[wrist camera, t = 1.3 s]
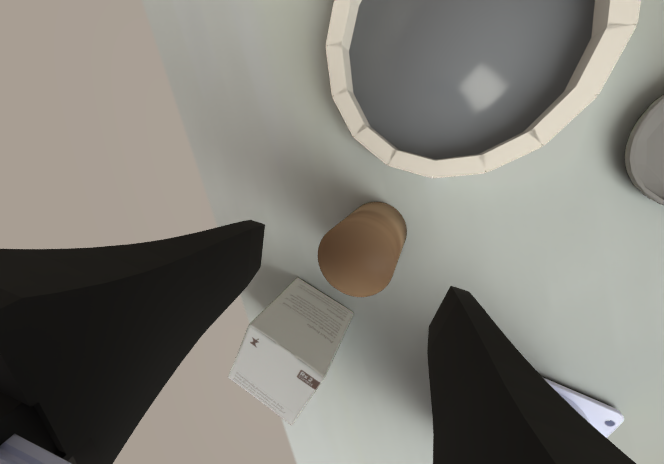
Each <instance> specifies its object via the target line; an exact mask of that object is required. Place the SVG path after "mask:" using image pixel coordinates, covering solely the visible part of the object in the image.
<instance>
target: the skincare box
mask: <svg viewBox="0 0 664 464" xmlns="http://www.w3.org/2000/svg"><path fill="white" fill-rule="evenodd" d="M353 314H354V313H353V312H352V311H350V310H349V309H347V308H346V307H344V306H342V305H341V304H339V303H338V302H336V301H334V300H333V299H331V298H330V297H328V296H326V295H325V294H323V293H322V292H320V291H319V290H317V289H315V288H314V287H312V286H311V285H309V284H307V283H306V282H304V281H303V280H301V279H300V278H296V279H295V280H294V281H293V282H292V283H291V284H290V285H289V286H288V287H287V288H286V289H285V290H284V291H283V292H282V293H281V294H280V295H279V296H278V297H277V298H276V299H275V300H274V301H273V302H272V303H271V304H270V305H269V306H268V307H267V308H266V309H265V310H264V311H262V312H261V313H260V314H259V315H258V316H257V317H256V318H255V319H254V320H253V321H252V322H251V323H250V324H249V326H248V328H247V331H246V333H245V336H244V338H243V341H242V344H241V346H240V349H239V352H238V354H237V357H236V360H235V362H234V364H233V366H232V369H231V371H230V373H229V376H228V378H229V379H231V380H232V381H234V382H235V383H237V384H238V385H239V386H240V387H242V388H243V389H244V390H246V391H247V392H248V393H250V394H251V395H252V396H254V397H255V398H256V399H258V400H259V401H260V402H262V403H263V404H264V405H266V406H267V407H268V408H270V409H271V410H272V411H273V412H275V413H276V414H277V415H279V416H280V417H281V418H282V419H284V420H285V421H286V422H288V423H289V424H290V425H293V423H294V421H295V420H296V419H297V417H298V416H299V414H300V413H301V411H302V410H303V408H304V407H305V405H306V404H307V402H308V401H309V400H310V398H311V397H312V395H313V394H314V392H315V391H316V390H317V388H318V387H319V385H320V384H321V382H322V381H323V380H324V378H325V376H326V374H327V372H328V370H329V367H330V365H331V363H332V361H333V359H334V356H335V354H336V352H337V350H338V348H339V345H340V343H341V341H342V339H343V337H344V335H345V332H346V330H347V328H348V326H349V324H350V322H351V319H352V317H353Z"/></svg>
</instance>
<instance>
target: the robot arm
mask: <svg viewBox="0 0 664 464" xmlns="http://www.w3.org/2000/svg"><path fill="white" fill-rule="evenodd" d="M264 229H265V224H262V223H259V222H255V221H252V220H247V221H242V222H238V223H233V224H229V225H225V226H221V227H218V228H214V229H210V230H206V231H202V232H197V233H193V234H189V235H184V236H179V237H174V238H169V239H164V240H158V241H151V242H144V243H137V244H129V245H117V246H105V247H94V248H75V249H0V464H113V462H114V460H115V459H116V457H117V455H118V454H119V453H120V451H121V450H122V448H123V446H124V445H125V443H126V442H127V440H128V439H129V437H130V436H131V434H132V433H133V431H134V429H135V428H136V426H137V425H138V423H139V422H140V420H141V419H142V417H143V416H144V414H145V413H146V411H147V410H148V409H149V407H150V406H151V404H152V403H153V401H154V400H155V398H156V397H157V395H158V394H159V392H160V391H161V390H162V388H163V387H164V385H165V384H166V383H167V381H168V380H169V378H170V377H171V376H172V374H173V373H174V372H175V370H176V369H177V367H178V366H179V365H180V363H181V362H182V360H183V359H184V358H185V357H186V355H187V354H188V353H189V351H190V350H191V349H192V348H193V346H194V345H195V344H196V342H197V341H198V340H199V338H200V337H201V336H202V335H203V334H204V333H205V331H206V330H207V329H208V328H209V327H210V326H211V325H212V324H213V323H214V321H215V320H216V319H217V318H218V317H219V316H220V315H221V314H222V313H223V312H224V311H225V310H226V309H227V308H228V306H229V305H230V304H231V303H232V302H233V301H234V300H235V299H236V298H237V297H238V296H239V295H240V294H241V292H242V291H243V290H244V289H245V288H246V287H247V286H248V284H249V283H250V282H251V280H252V279H253V277H254V276H255V274H256V273H257V271H258V270H259V268H260V267H261V257H262V248H263V238H264ZM428 366H429V379H430V390H431V402H432V414H433V433H434V439H433V464H636V463H635V462H634V461H632V460H631V459H630V458H629V457H628V456H627V455H625V454H624V453H623V452H622V451H621V450H620V449H618V448H617V447H616V446H615V445H614V444H613V443H612V442H610V441H609V440H608V439H607V437H608V436H609V435H610V434H611V433H612V432H613V431H614V430H615V429H616V428H617V427H618V426H619V425H620V424H621V423H622V422H623V421H624V417H623V415H622V414H621V412H620V411H619V410H617V409H615V408H613V407H611V406H608V405H606V404H604V403H601V402H599V401H597V400H594V399H592V398H590V397H587V396H585V395H583V394H580V393H578V392H576V391H573V390H571V389H569V388H566V387H564V386H562V385H559V384H557V383H555V382H552V381H550V380H548V379H545V378H543V377H542V376H541V375H540V374H539V373H538V372H537V371H536V370H535V369H534V368H533V367H532V366H531V365H530V363H529V362H528V361H527V360H526V359H525V358H524V357H523V356H522V355H521V353H520V352H519V351H518V350H517V349H516V348H515V347H514V345H513V344H512V343H511V342H510V341H509V340H508V338H507V337H506V336H505V335H504V334H503V332H502V331H501V330H500V329H499V328H498V326H497V325H496V324H495V323H494V321H493V320H492V319H491V318H490V316H489V315H488V314H487V313H486V311H485V310H484V309H483V308H482V306H481V305H480V304H479V303H478V302H477V300H476V299H475V298H474V297H473V296H472V295H471V294H470V293H469V292H468V291H465V290H462V289H459V288H456V287H453V286H450V288H449V290H448V292H447V294H446V296H445V298H444V300H443V301H442V303H441V305H440V307H439V309H438V311H437V313H436V314H435V316H434V318H433V320H432V322H431V324H430V326H429V334H428ZM606 420H610V421H606Z"/></svg>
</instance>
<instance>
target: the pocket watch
mask: <svg viewBox="0 0 664 464" xmlns="http://www.w3.org/2000/svg"><path fill="white" fill-rule="evenodd" d="M625 164H626V170H627V173H628V175H629V177H630V179H631V181H632V183H633V184H634V186H636V187H637V188H638V189H639V190H640V191H641V192H642V193H643V194H644V195H645V196H647V197H648V198H650V199H652V200H654V201H656V202H657V203H659V204H662V205H664V95H662V96H661V97H660V98H658V99H657V100H656V101H654V102H653V103H652V104H651V105H650V107H649V108H648V109H647V110H646V111H645V112H644V113H643V115H642V116H641V117H640V118H639V119H638V121H637V123H636V124H635V126H634V128H633V130H632V131H631V133H630V136H629V139H628V142H627V145H626V151H625Z"/></svg>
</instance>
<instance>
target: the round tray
mask: <svg viewBox="0 0 664 464" xmlns="http://www.w3.org/2000/svg"><path fill="white" fill-rule="evenodd" d="M640 3H641V0H334V3H333V8H332V13H331V19H330V24H329V29H328V35H327V40H326V45H327V46H326V54H327V62H328V70H329V78H330V86H331V94H332V96H333V97H332V98H333V100H334V102H335V104H336V105H337V107H338V109H339V111H340V113H341V115H342V117H343V119H344V121H345V123H346V125H347V126H348V128H349V130H350V132H351V134H352V136H353V137H354V138H355V139H356V140H357V141H358V142H359V143H361V144H362V145H363V146H364V147H365V148H367V149H368V150H369V151H370V152H372V153H373V154H374V155H375V156H376V157H378V158H379V159H380V160H381V161H382V162H384V163H385V164H386V165H388V166H391V167H394V168H398V169H401V170H405V171H408V172H412V173H415V174H419V175H422V176H425V177H429V178H432V176H433V178H442V177H452V176H462V175H472V174H483V173H485V172H486V173H487V172H489V171H491V170H494V169H496V168H498V167H500V166H502V165H504V164H507V163H509V162H511V161H513V160H515V159H517V158H519V157H522V156H524V155H526V154H528V153H530V152H532V151H534V150H537V149H539V148H541V147H542V146H544V145H545V144H547V143H548V142H549V141H550V140H551V139H552V138H553V137H554V136H555V135H556V134H557V133H558V132H560V131H561V130H562V129H563V128H564V127H565V126H566V125H567V124H568V123H569V122H570V121H571V120H572V119H574V118H575V117H576V116H577V115H578V114H579V113H580V112H581V111H582V110H583V109H584V108H585V107H587V106H588V105H589V104H590V103H591V102H592V101H593V100H594V99H595V98H596V97H597V96H596V95H599V93H600V91H601V90H602V88H603V86H604V84H605V82H606V81H607V79H608V77H609V75H610V73H611V72H612V70H613V68H614V66H615V64H616V63H617V61H618V59H619V57H620V55H621V54H622V52H623V50H624V48H625V46H626V45H627V43H628V41H629V39H630V37H631V35H632V34H633V32H634V30H635V28H636V26H637V25H636V24H637V23H638V18H639V10H640Z"/></svg>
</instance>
